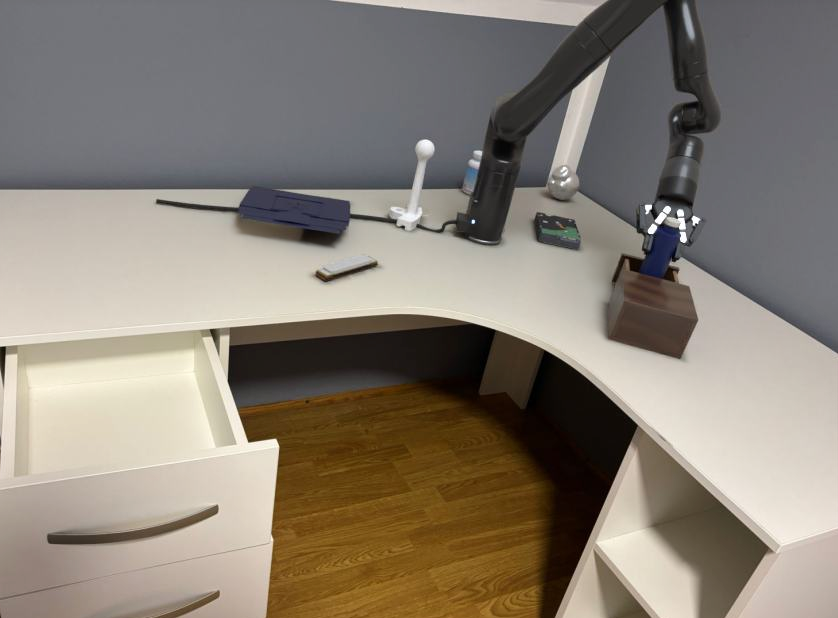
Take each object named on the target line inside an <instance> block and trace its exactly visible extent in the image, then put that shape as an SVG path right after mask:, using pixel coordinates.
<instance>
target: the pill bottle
mask: <svg viewBox="0 0 838 618" xmlns="http://www.w3.org/2000/svg"><path fill="white" fill-rule="evenodd" d="M482 151H483V150H474V151H473V153H472V158H471V159H470V160H469V161H468V163H467V167H466V171H465V176H464V179H463V184H462V187H461V191H462V192H463V193H465V194H466V195H471V192H473V190H474V186H475V182H476V177H477V173H478V169H479V165H480V161H481V157H482Z"/></svg>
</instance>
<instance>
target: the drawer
mask: <svg viewBox="0 0 838 618" xmlns="http://www.w3.org/2000/svg"><path fill="white" fill-rule="evenodd" d="M644 258H645V257H640V256H635V255H632V254H628V253H625V252H621V254H620V257H619V259H618V262H617V265H616V268H615V270H614V273H613V276H612V278H611V283H613V284H614V285H615V286H616V283H617V280H618V278H619V275H620V273H621V270H622V269H625V270H629V271H633V272H637V273H638V272H639V270H640V267H641V265H642V262H643V260H644ZM680 270H681V269H680V267H679V266H675V265H671V264H669V266H668V268H667V271H666V273H665V275H664V277H663V279H664V280H668V281H671V282H675V283H679V284H680V281H679V272H680ZM615 286H614V287H615Z"/></svg>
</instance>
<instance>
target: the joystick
mask: <svg viewBox="0 0 838 618" xmlns="http://www.w3.org/2000/svg"><path fill="white" fill-rule="evenodd" d="M435 150H436V149H435V144H434V143H433V142H432V141H431V140H429V139H421V140H419V141H418V142H417V143H416V145H415V148H414V153H415V155H416V157H417V166H416V168H415V169H416V170H415V174H414V178H413V184H412V188H411V191H410V197H409V200H408V204H406V207H405V208H404V207H401V206H391V207H390V209H389V216H388V217H389V218H391V219H397V223H395V224H396V225H395V226H397V227H404V231H407V232H410V231H413V230H415V229H416V228H417V227H416V225H417V224H420V225H421V220H422V214H423V208H422V207H421V206H420V202H421V195H422V189H423V185H424V180H425V172H426V167H427V162H428V161H429V160H430V159H431V158H432V157H434V154H435Z"/></svg>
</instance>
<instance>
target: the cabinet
mask: <svg viewBox="0 0 838 618" xmlns="http://www.w3.org/2000/svg"><path fill="white" fill-rule="evenodd" d="M615 284H616V286H614V289H613V291H612V294H611V296H610V299H609V301H608V304H607V315H608V317H607V318H608V319H607V320H608V340H611V341H614V342H616V343H617V342H618V343H621V344H625V345H628V346H632V347H637V348H639V349H642V350H647V351H651V352H653V353H657V354H658V353H659V354H661V355H665V356H668V357H673V358H676V359H678V360H679V359H680V360H681V359H682V357H683V354H684V352H685V350H686V348H687V347H688V343H689V341H690V340H691V337H692V335H693V333H694V331H695V329H696V327H697V324H698V322H699V316H698V313H697V308H696V306H695V305H696V304H695V302H694V298H693V295H692V291H691V287H690V286H689V285H686V284H682V283H680V282H679V283H675V282H671V281H668V280H664V279H660V278H656V277H652V276H648V275H644V274H641V273H637V272H633V271H629V270H625V269H622V270H621V273H620V275H619V278H618V280H617V283H615Z"/></svg>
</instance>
